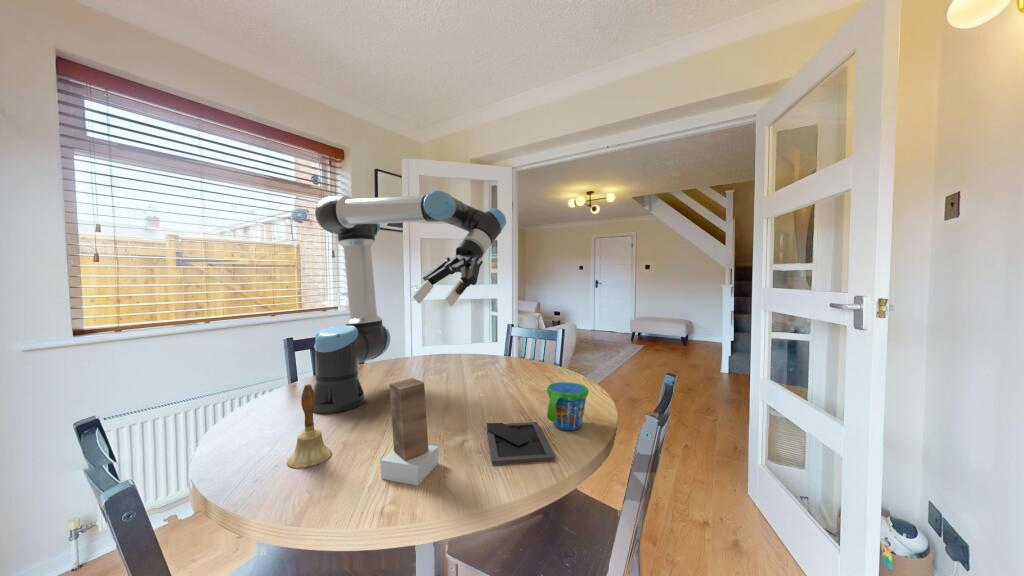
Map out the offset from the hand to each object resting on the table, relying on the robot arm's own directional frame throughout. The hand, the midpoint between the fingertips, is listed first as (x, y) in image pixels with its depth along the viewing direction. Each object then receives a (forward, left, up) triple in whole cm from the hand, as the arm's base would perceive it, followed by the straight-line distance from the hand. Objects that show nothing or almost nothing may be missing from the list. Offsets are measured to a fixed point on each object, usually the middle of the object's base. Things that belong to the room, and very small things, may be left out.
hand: (431, 301), depth 91 cm
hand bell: (-6, -28, -33) cm, 43 cm away
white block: (+15, -17, -33) cm, 40 cm away
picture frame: (+24, +6, -34) cm, 42 cm away
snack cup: (+28, +22, -33) cm, 49 cm away
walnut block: (+15, -16, -29) cm, 36 cm away
